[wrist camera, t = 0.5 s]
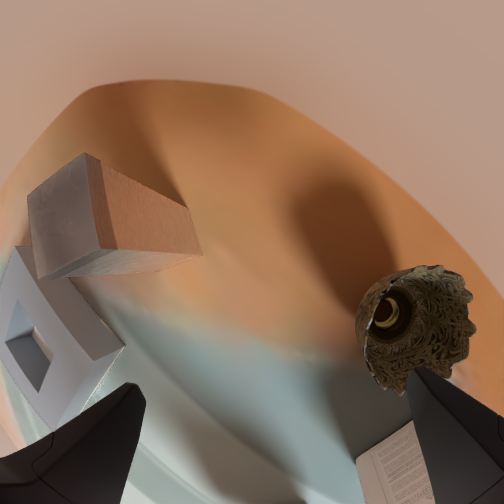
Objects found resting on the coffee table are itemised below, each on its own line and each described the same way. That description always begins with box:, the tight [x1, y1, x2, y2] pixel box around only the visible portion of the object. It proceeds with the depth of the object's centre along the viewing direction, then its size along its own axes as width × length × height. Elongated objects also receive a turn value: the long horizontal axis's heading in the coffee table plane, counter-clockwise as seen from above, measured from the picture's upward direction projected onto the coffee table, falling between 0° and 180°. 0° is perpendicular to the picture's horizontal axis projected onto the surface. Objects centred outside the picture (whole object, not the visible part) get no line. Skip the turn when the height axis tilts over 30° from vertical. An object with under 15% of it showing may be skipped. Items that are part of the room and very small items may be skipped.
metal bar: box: [27, 152, 202, 281], centre depth 16 cm, size 4×4×13 cm
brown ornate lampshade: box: [355, 265, 476, 396], centre depth 16 cm, size 8×7×8 cm
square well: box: [0, 246, 126, 432], centre depth 21 cm, size 14×14×5 cm
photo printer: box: [356, 420, 435, 504], centre depth 13 cm, size 10×4×12 cm, turn 127°
